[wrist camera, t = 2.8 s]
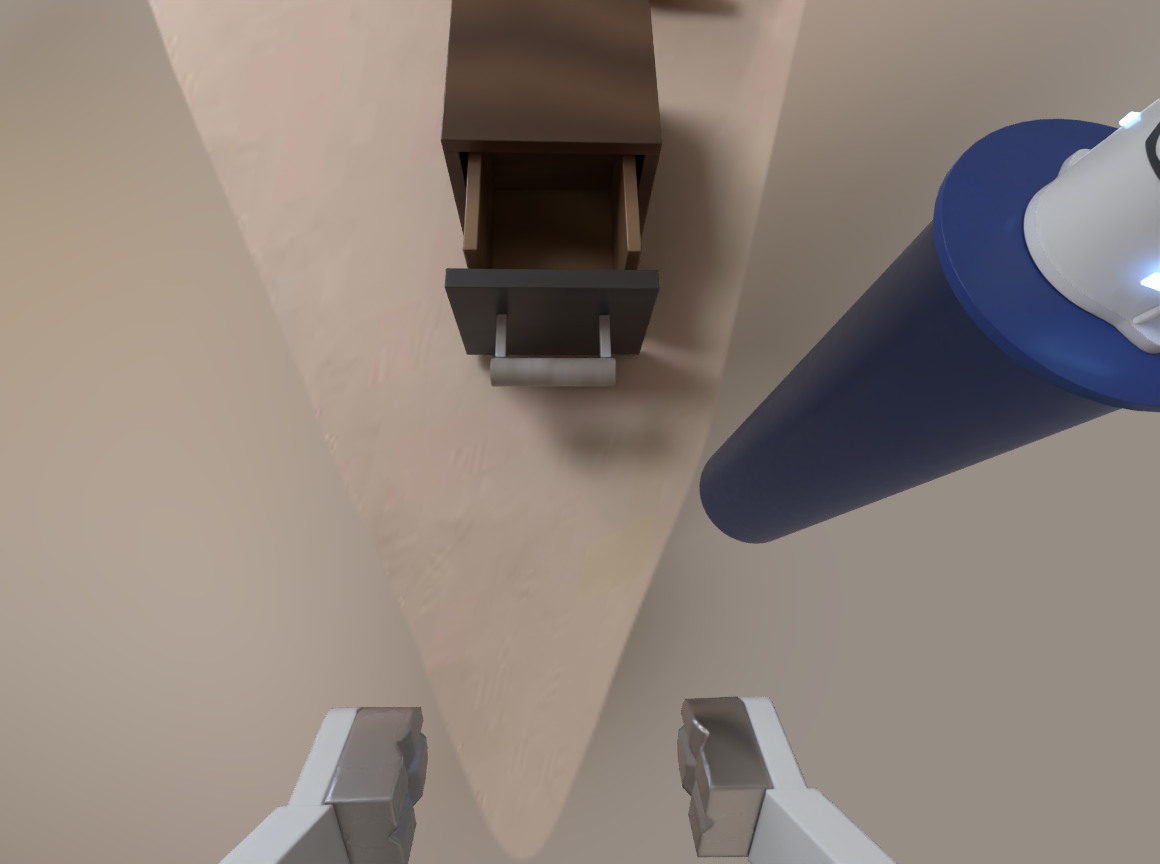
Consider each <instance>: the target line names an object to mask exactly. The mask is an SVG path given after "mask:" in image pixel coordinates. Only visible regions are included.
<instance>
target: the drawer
mask: <svg viewBox="0 0 1160 864" xmlns="http://www.w3.org/2000/svg"><path fill="white" fill-rule="evenodd" d="M463 251H464V255H465V259H466V263H467V267H468V269H449V268H447V269H446V275H445V289H446V292H447V295H448V298H449V301H450V304H451V307H452V310H453V313H454V316H455V319H456V322H457V325H458V329H459V332H460V335H461V338H462V341H463V344H464V347H465V350H466V353H467V354H468V355H495V358H492V359H491V363H490V379H491V385H492V386H615V383H616V360H615V358H611V355H639V353H640V350H641V347H642V343H643V340H644V337H645V334H646V330H647V327H648V324H649V321H650V318H651V314H652V311H653V308H654V305H655V301H656V298H657V295H658V292H659V288H660V287H659V274H658V270H637V268H638V264H639V260H640V255H641V251H642V250H641V235H640V221H639V206H638V191H637V176H636V161H635V155H624V154H567V153H510V152H469V155H468V172H467V189H466V206H465V223H464V240H463ZM507 355H600V358H507Z"/></svg>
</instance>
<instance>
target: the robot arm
mask: <svg viewBox="0 0 1160 864" xmlns="http://www.w3.org/2000/svg"><path fill="white" fill-rule="evenodd" d="M1120 125H1123V126H1122V127H1121V128H1120V129H1118V130H1117V131H1115V132H1114V133H1113V134H1112V135H1110V136H1109V137H1108V138H1106V139H1105V140H1104V141H1102V142H1101V143H1100V144H1098V145H1097V146H1096V147H1095V148H1093V149H1092V150H1089V149H1081V150H1078V151H1077V152H1075V153H1074V154H1073V155H1071V156H1070V157H1069V158H1067V159H1066V160H1065V161H1064V163H1063V165H1062V166H1061V169H1060V171H1059V174H1058V176H1057V178H1056V179H1055V180H1053V181H1052V182H1051V183H1049V184H1048V185H1046V186H1045V187H1043V188H1042V189H1041V190H1039V191H1038V192H1037V193H1036V194H1035V195H1034V196H1033V198H1032V199H1031V201H1030V202H1029V204H1028V206H1027V209H1026V212H1025V216H1024V235H1025V240H1026V243H1027V247H1028V249H1029V252H1030V254H1031V256H1032V258H1033V260H1034V262H1035V264H1036V265H1037V267H1038V268H1039V270H1040V271H1041V273H1042V274H1043V275H1044V276H1045V278H1046V279H1047V280H1048V281H1049V282H1050V283H1051V284H1052V285H1053V286H1054V287H1055V288H1056V289H1057V290H1058V291H1059V292H1060V293H1061V294H1062V295H1063V296H1065V297H1066V298H1067V299H1068V300H1070V301H1071V302H1073V303H1074V304H1076V305H1077V306H1079V307H1080V308H1082V309H1084V310H1085V311H1087V312H1089V313H1091V314H1093V315H1095V316H1097V317H1099V318H1101V319H1103V320H1105V321H1106V322H1108V323H1110V324H1111V325H1113V326H1114V327H1115V328H1116V329H1117V330H1118V331H1120V332H1121V333H1122V334H1123V335H1124V336H1125V337H1126V338H1127V339H1128V340H1129V341H1130V342H1132V343H1133V344H1134V345H1135V346H1137V347H1138V348H1139V349H1141V350H1143V351H1145V352H1147V353H1152V354H1155V353H1160V98H1159V99H1158V100H1157V101H1155V102H1154V103H1153V104H1151V105H1150V106H1149V107H1147V108H1146V109H1145V110H1143V111H1142V112H1141V113H1135V112H1130V113H1129V114H1128V115H1127V116H1126V117H1125V118H1123V119H1122V120H1121V121H1120ZM681 714H682V719H683V723H684V725H683V726H682V727H681V728H680V729H679V732H678V743H677V744H678V762H679V770H680V776H681V781H682V786H683V788H684V789H685V790H686V791H687V793H688V794H689V795H690V796H691V801H690V807H689V814H688V815H689V819H690V824H691V829H692V833H693V838H694V843H695V848H696V852H697V857H748V861H749V862H750V863H751V864H897V863H896V862H895V861H894V860H893V859H892V858H891V857H890V856H889V855H888V854H887V853H886V852H884V851H883V850H882V849H881V848H880V847H879V846H878V845H877V844H876V843H875V842H874V841H873V840H872V839H871V838H869V837H868V836H867V835H866V834H865V833H864V832H863V831H862V830H861V829H860V828H859V827H858V826H857V825H856V824H854V823H853V822H852V821H851V820H850V819H849V818H848V817H847V816H846V815H845V814H844V813H843V812H842V811H841V810H840V809H839V808H837V807H836V806H835V805H834V804H833V803H832V802H831V801H830V800H829V799H828V798H827V797H826V796H825V795H824V794H822V793H821V792H820V791H819V790H818V789H817V788H808V787H807V784H806V782H805V780H804V777H803V775H802V772H801V770H800V768H799V765H798V763H797V760H796V758H795V755H794V753H793V751H792V748H791V746H790V743H789V741H788V739H787V736H786V734H785V731H784V729H783V726H782V724H781V722H780V719H779V717H778V714H777V712H776V710H775V707H774V705H773V702H772V701H771V700H770V699H769V698H768V697H742V698H738V697H719V698H696V699H685V700H684V702H683V705H682V710H681ZM422 723H423V716H422V711H421V707H351V708H350V707H346V708H331V710H330V711H329V712H328V714H327V715H326V716H325V718H324V720H323V722H322V725H321V727H320V729H319V732H318V734H317V736H316V739H315V741H314V744H313V746H312V749H311V751H310V753H309V756H308V758H307V760H306V763H305V765H304V768H303V770H302V772H301V775H300V777H299V780H298V782H297V784H296V787H295V789H294V792H293V794H292V796H291V799H290V801H289V803H288V806H279V807H277V808H276V809H275V810H274V811H273V812H272V813H271V814H270V815H269V816H268V817H267V818H266V819H265V820H264V821H262V822H261V823H260V824H259V825H258V826H257V827H256V828H255V829H254V830H253V831H252V832H251V833H250V834H249V835H248V836H247V837H246V838H245V839H244V840H243V841H242V842H240V844H238V846H236V847H235V848H234V849H233V850H232V851H231V852H230V853H229V854H228V855H227V856H226V857H225V858H224V859H223V860H222V861H221V862H220V863H218V864H408V860H409V856H410V851H411V847H412V841H413V837H414V832H415V828H416V820H415V814H414V808H413V806H414V805H415V804H416V803H417V801H418V800H419V799H420V798H421V797H422V794H423V789H424V784H425V779H426V769H427V760H428V758H427V757H428V754H427V740H426V737H425V736H424V735H423V734H422V733H421V727H422Z"/></svg>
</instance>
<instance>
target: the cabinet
mask: <svg viewBox="0 0 1160 864" xmlns="http://www.w3.org/2000/svg"><path fill="white" fill-rule="evenodd" d="M441 143H442V147H443V151H444V156H445V160H446V164H447V168H448V172H449V177H450V181H451V185H452V189H453V193H454V198H455V202H456V206H457V210H458V214H459V219H460V223H461V227H462V231H463V235H464V223H465V206H466V189H467V172H468V155H469V152H510V153H567V154H624V155H635V161H636V176H637V191H638V206H639V221H640V235H641V236H642V232H643V227H644V223H645V218H646V214H647V209H648V205H649V200H650V196H651V191H652V187H653V182H654V178H655V173H656V169H657V164H658V160H659V154H660V150H661V146H662V137H661V126H660V114H659V103H658V92H657V80H656V69H655V58H654V46H653V35H652V24H651V12H650V1H649V0H452V5H451V18H450V30H449V42H448V55H447V67H446V79H445V92H444V104H443V116H442V129H441Z"/></svg>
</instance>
